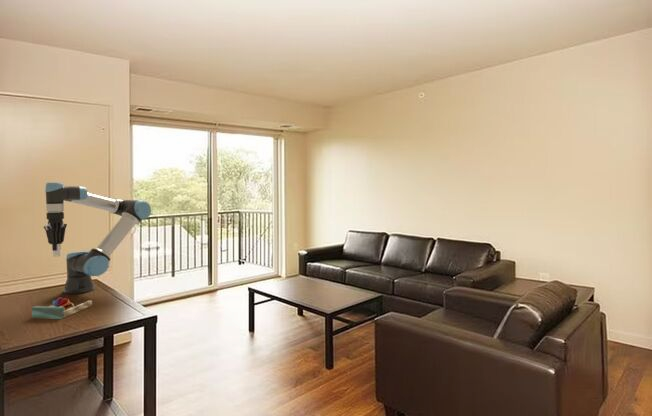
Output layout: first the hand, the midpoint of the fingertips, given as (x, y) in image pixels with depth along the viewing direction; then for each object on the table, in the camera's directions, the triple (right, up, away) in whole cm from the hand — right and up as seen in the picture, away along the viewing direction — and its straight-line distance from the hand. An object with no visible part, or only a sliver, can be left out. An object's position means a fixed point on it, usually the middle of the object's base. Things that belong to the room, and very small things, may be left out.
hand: (56, 256), depth 203 cm
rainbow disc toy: (+13, -26, -16) cm, 33 cm away
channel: (+14, -25, -14) cm, 32 cm away
